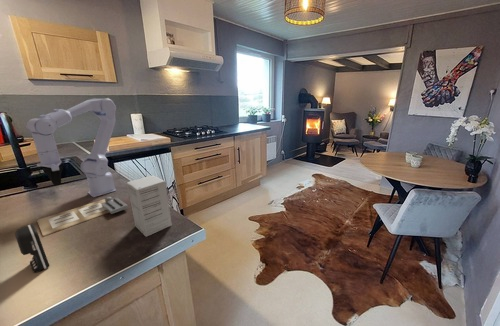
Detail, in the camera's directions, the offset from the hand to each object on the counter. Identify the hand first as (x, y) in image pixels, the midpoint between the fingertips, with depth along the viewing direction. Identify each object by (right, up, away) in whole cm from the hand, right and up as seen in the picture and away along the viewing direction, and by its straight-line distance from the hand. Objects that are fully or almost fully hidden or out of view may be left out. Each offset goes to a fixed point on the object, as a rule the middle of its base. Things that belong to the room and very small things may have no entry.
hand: (57, 184), depth 85 cm
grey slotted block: (+21, -9, +2) cm, 23 cm away
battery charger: (+19, -20, -27) cm, 38 cm away
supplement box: (+42, -14, -10) cm, 46 cm away
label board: (+11, -12, -2) cm, 16 cm away
